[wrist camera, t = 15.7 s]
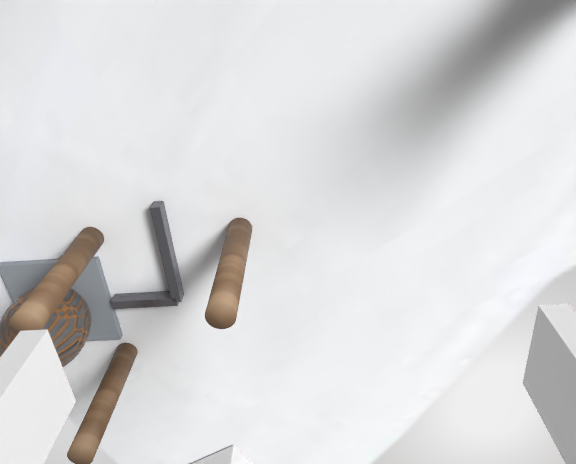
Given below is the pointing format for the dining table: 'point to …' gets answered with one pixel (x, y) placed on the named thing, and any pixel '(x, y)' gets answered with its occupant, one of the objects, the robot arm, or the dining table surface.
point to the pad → (88, 285)
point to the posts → (103, 404)
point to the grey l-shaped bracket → (169, 265)
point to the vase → (56, 325)
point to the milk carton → (226, 457)
